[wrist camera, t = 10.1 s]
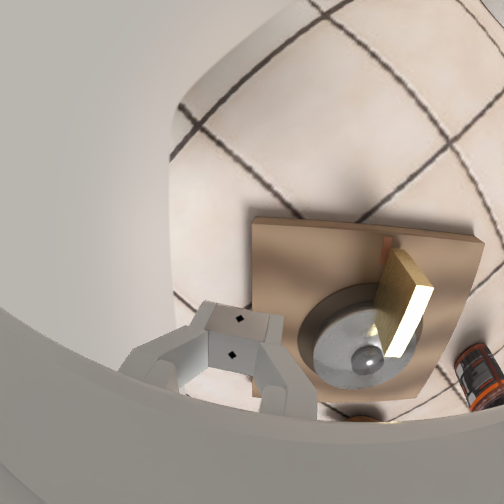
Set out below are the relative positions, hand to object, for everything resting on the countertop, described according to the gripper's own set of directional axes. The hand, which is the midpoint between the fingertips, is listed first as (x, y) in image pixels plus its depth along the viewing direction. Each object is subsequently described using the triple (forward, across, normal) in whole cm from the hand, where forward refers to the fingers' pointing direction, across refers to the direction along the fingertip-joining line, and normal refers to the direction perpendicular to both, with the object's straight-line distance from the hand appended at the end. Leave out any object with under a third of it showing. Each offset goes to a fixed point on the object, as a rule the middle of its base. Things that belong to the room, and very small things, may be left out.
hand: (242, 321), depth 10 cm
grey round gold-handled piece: (+12, -10, +8) cm, 17 cm away
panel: (+14, -10, +10) cm, 20 cm away
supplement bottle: (+14, -30, +14) cm, 36 cm away
